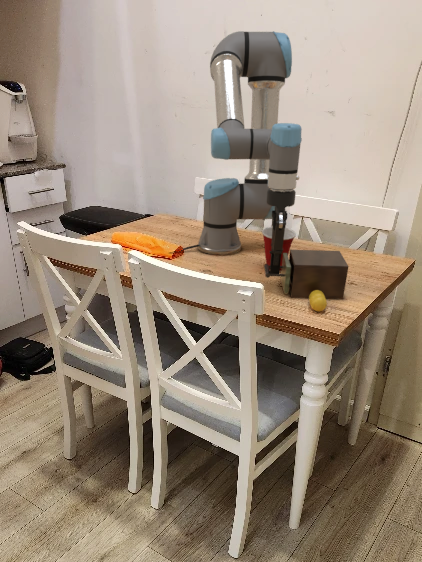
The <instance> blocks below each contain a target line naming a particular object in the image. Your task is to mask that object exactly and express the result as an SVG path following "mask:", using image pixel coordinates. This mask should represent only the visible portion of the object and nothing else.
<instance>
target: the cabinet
mask: <svg viewBox="0 0 422 562" xmlns="http://www.w3.org/2000/svg"><path fill="white" fill-rule="evenodd" d="M291 257H292V261H293V264H294V273H293V282H292V287H291V283H290V282H289V295H290V298H296V299H297V298H298V299H299V298H300V299H309V295H310V294H311V292H313V291H315V290H319V291H321V292H323V294H324V296H325V298H326V300H328V299H329V300H343V299H344V297H345V296H344V295H345V291H346V283H347V278H348V272H349V265H348V263H347V261H346V259H345V257H344V256H343V254H342V252H341V251H340V250H321V249H318V250H317V249H290V251H289V255H288V258H289V262H290V265H291Z"/></svg>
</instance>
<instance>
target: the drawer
mask: <svg viewBox="0 0 422 562" xmlns="http://www.w3.org/2000/svg"><path fill="white" fill-rule="evenodd" d="M269 268H270V265H268V264H266V263H264V265H263V269H264V276H265V278H266V279H268V278H270V277H278V278H279V277H280V281H281V285H282V290H283V294H287V295H288V294H289V292H290V290H289V282H290V283H291V287H292V282H293V273H294V264H293V261H292V257H291V265H290V262H289V254H288V255H287V253H283V259H282V266H280V268H282V270H280V273H279V274H270V270H269Z"/></svg>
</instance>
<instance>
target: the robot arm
mask: <svg viewBox="0 0 422 562" xmlns="http://www.w3.org/2000/svg"><path fill="white" fill-rule="evenodd" d="M292 66H293V52H292V43H291V40H290V37H289V36H288V34H287V33H285V32H277V31H241V30H240V31H239V30H238V31H235V32H232V33H230V34H228V35H227V36H225V37H224V38H223V39H221V40H220V42H218V44H217V45H216V46H215V48H214V50H213V52H212V55H211V57H210V62H209V73H210V77H211V79H212V81H213V83H214V99H215V115H216V116H215V117H216V127H215V128H212V129H211V133H210V155H211V157H212V158H213V159H217V160H219V159H220V160H225V161H227V160H249V166H248V167H249V168H248V169H249V170H248V173H247V174H246V175H245V176H244V179H243V181H244V182H243V183H240V182H239V180H238V178H234V177H231V178H230V177H225V178H217V179H213V180H210V181H208V182H206V184H204V187H203V196H202V199H203V226H202V227H203V228H202V230H201V233H200V236H199V240H198V242H197V243H198V244H195V245H191V246H187V247H183V248H182V249H183V250H181V251H179V252H178V253H180V252H183V251H186V250H190V249H194V248H198V250H199V251H200V252H202V253H205V254H209V255H214V256H227V255H234V254H237V253H239V252H240V251H241V250H242V249H241V248H242V243H241V239H240V236H239V231H238V228H237V227H238V226H237V225H238V224H237V223H238V220H262V221H266V220H271V227H272V243H271V247H272V248H271V250H272V251H270V254H271V262H270V274H281V270H280V262H281V254H282V252H283V241H284V232H285V228H286V226H287V220H288V211H287V210H286V208H287V207H288V208H289V207H293V206H294V205H295V203H296V193H297V191H296V190H295V189H296V188H297V181H299V180H300V176H299V175H298V173H299V163H300V162H299V161H300V153H301V144H302V141H303V139H302V130H303V129H302V126H301V125H300V124H298V123H292V122H290V123H289V122H279V109H280V108H279V106H280V91H281V89H282V88H283V87H284V86H285V85H286V79H288V78H290V77H291V75H292ZM241 78H247V85H248V87H249V88H250V89H251V91H252V92H251V95H252V96H251V115H250V116H251V117H250V118H251V119H250V128H245V119H244V108H243V98H242V88H241V86H242V85H241ZM278 122H279V123H278Z"/></svg>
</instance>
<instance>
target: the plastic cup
mask: <svg viewBox="0 0 422 562" xmlns="http://www.w3.org/2000/svg"><path fill="white" fill-rule="evenodd" d="M261 234H262V236H263V237H262V238H263V246H264V255H265V256H264V257H265V264H268V265H270V262H271V254H270V251H272V250H271V248H272V247H271V243H272V226H268V227H264V228H262V229H261ZM296 236H297V232H296V231H295V230H293V229H291V228H287V227H285V232H284V241H283V252H282V254H281V262H280V266H282V259H283V253H287V255H288V256H289V255H290V250H291V246H292V244H293V241H294V239H295V238H296ZM269 270H270V268H269ZM281 270H282V268H280V271H281Z"/></svg>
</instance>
